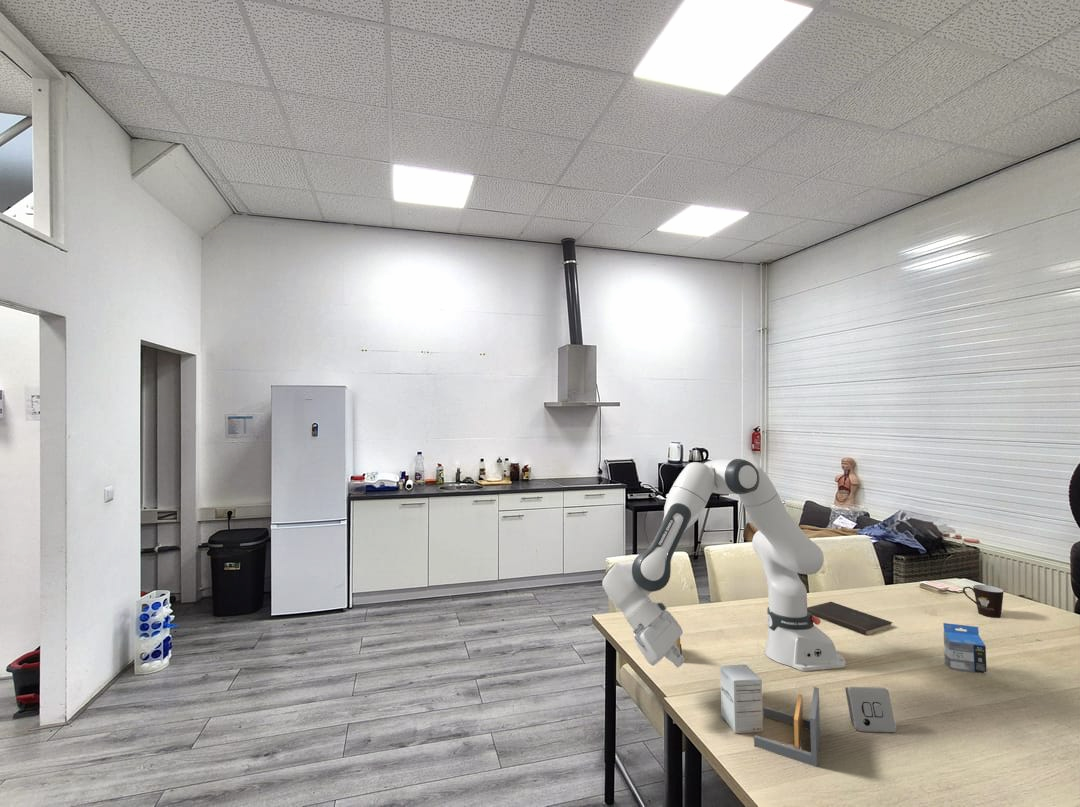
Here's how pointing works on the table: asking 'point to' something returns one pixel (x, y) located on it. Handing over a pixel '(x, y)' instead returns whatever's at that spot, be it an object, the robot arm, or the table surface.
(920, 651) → the table surface
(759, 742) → the holder
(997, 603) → the coffee mug
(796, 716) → the orange flat slab
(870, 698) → the electrical switch
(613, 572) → the robot arm
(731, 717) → the supplement box
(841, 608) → the hardcover book
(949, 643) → the ink cartridge box
